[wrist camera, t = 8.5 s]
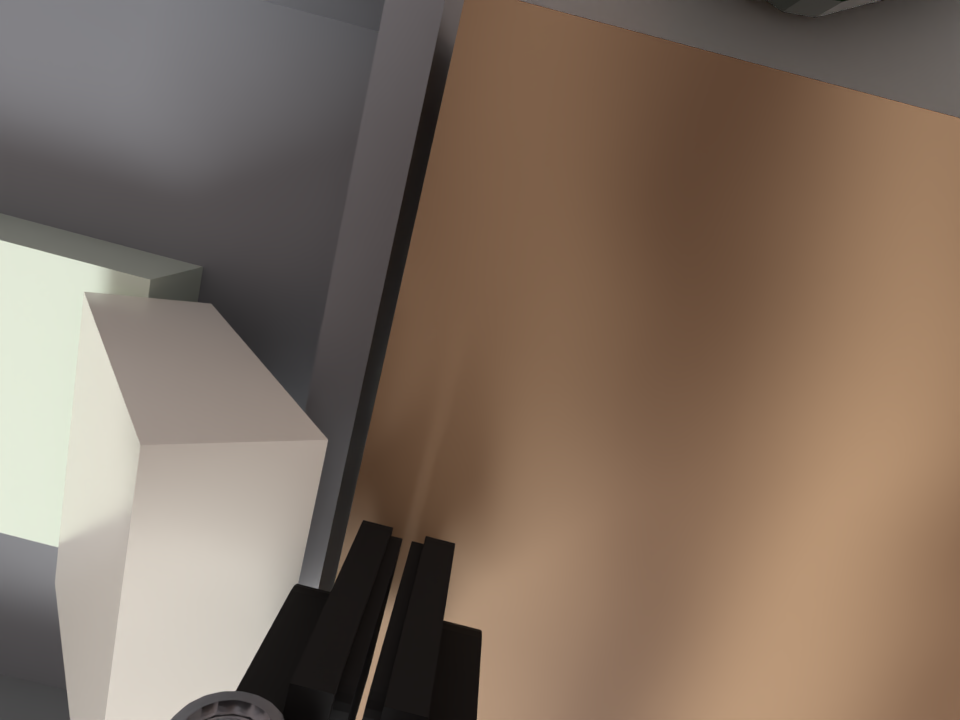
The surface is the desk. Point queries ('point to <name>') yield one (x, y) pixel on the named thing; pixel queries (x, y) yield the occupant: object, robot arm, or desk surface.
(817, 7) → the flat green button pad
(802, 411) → the wooden block
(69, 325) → the tile sage
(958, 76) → the desk surface
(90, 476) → the tile cream
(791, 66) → the desk surface
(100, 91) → the bin
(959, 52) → the desk surface
